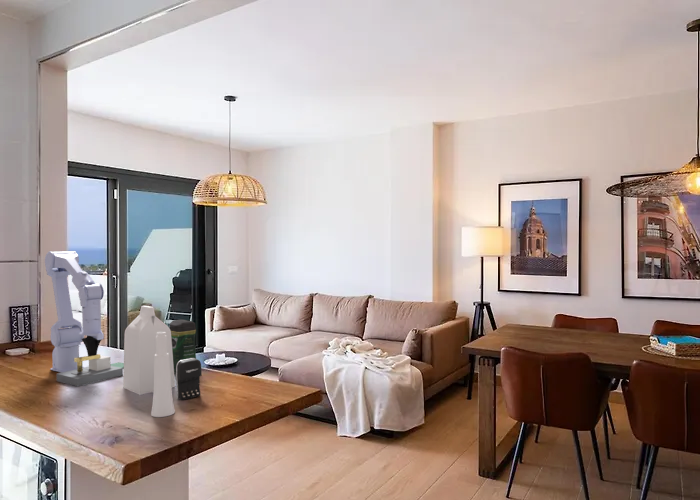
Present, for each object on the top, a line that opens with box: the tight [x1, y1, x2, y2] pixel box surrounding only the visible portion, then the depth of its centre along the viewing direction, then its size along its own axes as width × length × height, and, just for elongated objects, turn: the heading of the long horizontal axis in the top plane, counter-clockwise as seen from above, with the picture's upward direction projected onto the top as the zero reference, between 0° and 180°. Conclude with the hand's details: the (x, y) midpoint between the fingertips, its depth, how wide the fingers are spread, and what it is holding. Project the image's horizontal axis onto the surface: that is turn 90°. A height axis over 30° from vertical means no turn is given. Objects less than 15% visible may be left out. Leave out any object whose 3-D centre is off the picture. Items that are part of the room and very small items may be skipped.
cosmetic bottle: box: [150, 332, 176, 418], centre depth 136 cm, size 6×6×22 cm
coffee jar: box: [168, 319, 197, 374], centre depth 182 cm, size 10×8×19 cm
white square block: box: [88, 355, 112, 371], centre depth 178 cm, size 5×5×4 cm
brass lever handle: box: [74, 353, 101, 372], centre depth 174 cm, size 2×8×5 cm, turn 137°
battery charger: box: [175, 357, 202, 401], centre depth 150 cm, size 7×4×11 cm, turn 133°
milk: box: [122, 305, 176, 396], centre depth 162 cm, size 12×12×26 cm
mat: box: [111, 361, 124, 369], centre depth 190 cm, size 9×9×1 cm
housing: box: [56, 366, 124, 387], centre depth 175 cm, size 13×16×3 cm
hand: (92, 357), depth 176 cm, fingers closed, pressing on brass lever handle
